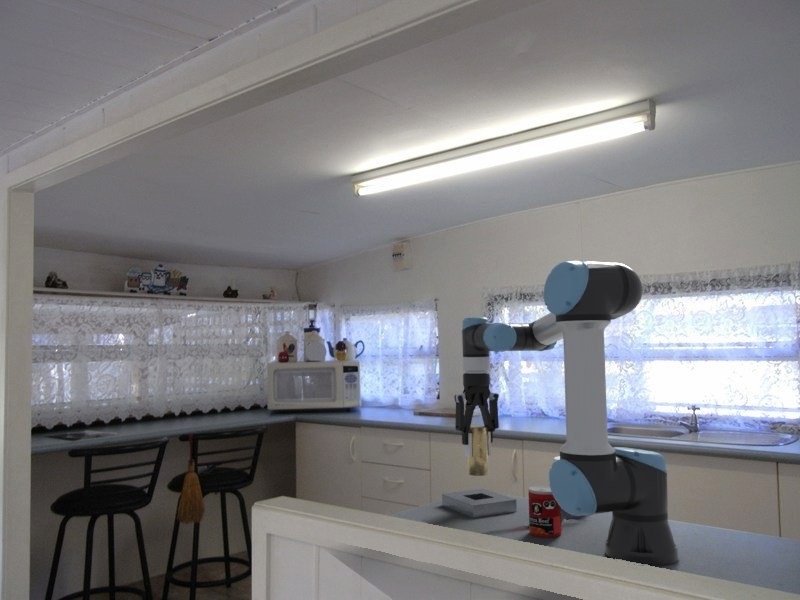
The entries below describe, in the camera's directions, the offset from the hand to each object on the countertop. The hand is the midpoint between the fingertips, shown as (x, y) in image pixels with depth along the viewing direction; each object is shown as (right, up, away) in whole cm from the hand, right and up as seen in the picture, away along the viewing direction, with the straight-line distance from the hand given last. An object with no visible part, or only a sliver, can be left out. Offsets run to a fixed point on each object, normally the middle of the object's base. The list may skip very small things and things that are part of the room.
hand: (477, 455), depth 190 cm
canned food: (+14, -15, -22) cm, 30 cm away
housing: (0, -16, -1) cm, 16 cm away
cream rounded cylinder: (0, -5, 0) cm, 5 cm away
